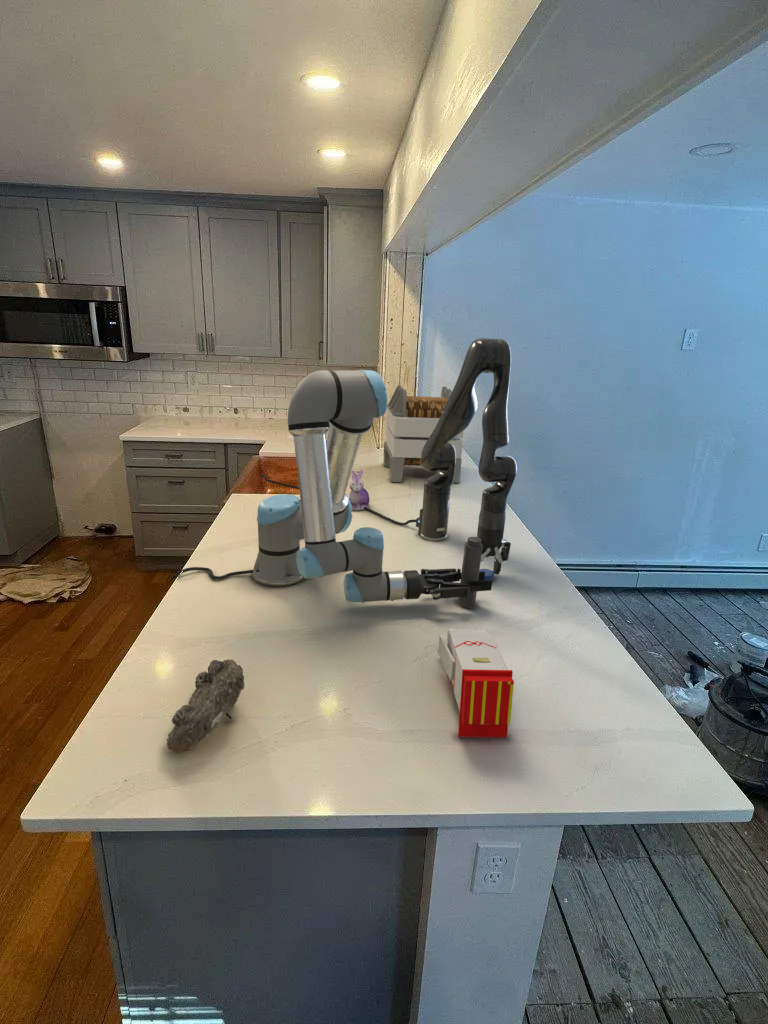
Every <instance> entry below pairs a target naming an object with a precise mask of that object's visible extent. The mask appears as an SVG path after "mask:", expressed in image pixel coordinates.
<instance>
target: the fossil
mask: <svg viewBox="0 0 768 1024" xmlns="http://www.w3.org/2000/svg"><path fill="white" fill-rule="evenodd" d="M243 670H244V669H243V667H242V665H240V664H237V662H236V661H235V660H234V659H232V658H231V659H227V658H226V659H224V660H223V661H222V660H217V659H212V660H211V661H210V663H209V665H208V666H207V671H201V672H199V673H198V674H197V675H196V676H195V680H194V684H195V685H194V687H195V689H194V690H193V693H192V694H191V697H190V698H189V700H188V704H184V705H182V706H181V707H180V709H177V710H176V711H175V713H174V715H173V716H172V718H171V723H172V724H173V727H172V730H171V731H170V732H168V734H167V738H166V741H167V742H166V745H167V749H168V750H169V751H173V752H174V753H176V754H178V753H182V752H188V751H189V752H192V751H193V750H195V748H196V747H197V746H199V744H200V743H201V742H203V741H204V740H205V739H206V738H207V737H208V736H209V735H210V734H211V733H212V732H214V730H215V729H217V727H218V726H219V724H220V722H221V721H222V720H223V719H224V718H225V716H226V717H227V719H229V720H233V717H232V715H230V714H229V710H230V709H231V708H234V706H235V704H236V703H237V702H238V699H239V697H240V695H241V693H242V691H243V690H245V689H244V688H245V675H244V671H243Z"/></svg>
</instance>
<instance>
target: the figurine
mask: <svg viewBox="0 0 768 1024" xmlns="http://www.w3.org/2000/svg"><path fill="white" fill-rule="evenodd" d="M363 475H364V470H363V469H361V470H359V472H358V473H356V472H355V470H352V472H351V480H350V482H349V489H350V492H349V494H348V498H349V500H350V502H351V505H352V511H363V510H365V509H364V507H367V508H369V505H370V495H369V491H367V489H365V484H364V482H363Z"/></svg>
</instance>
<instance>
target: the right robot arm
mask: <svg viewBox="0 0 768 1024" xmlns="http://www.w3.org/2000/svg"><path fill="white" fill-rule="evenodd" d="M511 366H512V350H511V346H510V344H509V342H508V341H507V340H505V339H502V338H485V337H481V338H475V339H474V340H473V341H472V342H471V343H470V345H469V347H468V349H467V351H466V354H465V356H464V359H463V362H462V366H461V369H460V371H459V374H458V377H457V379H456V382H455V385H454V386H453V388H452V390H451V391H452V393H451V395H450V397H449V399H448V401H447V403H446V405H445V407H444V410H443V412H442V415H441V417H440V419H439V421H438V423H437V425H436V427H435V429H434V431H433V432H432V434H431V436H430V437H429V439H428V440H427V442H426V444H425V445H424V447H423V449H422V452H421V457H420V462H421V466H420V467H422V469H423V470H424V471H427V472H435V474H433V475H432V476H430V477H428V478H427V479H425V480H424V482H423V493H422V496H423V497H422V506H421V508H420V509H419V516H418V517H416V518H415V519H409V520H407V521H405V522H400V521H396V520H394V519H392V518H390V517H388V516H385V515H384V514H381V513H379V512H377V511H375V510H373V509H371V508H370V507H368V508H367V507H364V510H365V511H367V512H370V513H372V514H374V515H376V516H378V517H380V518H381V519H384V520H386V521H388V522H390V523H393V524H395V525H398V526H407V525H408V524H410V523H415V527H416V528H418V530H417V535H418V536H420V538H421V539H424V540H426V541H432V542H440V541H444V540H446V539H447V538H448V525H449V517H450V516H449V514H450V504H451V494H452V493H451V491H452V486H453V484H454V483H453V478H454V471H455V464H456V451H455V448H454V446H453V445H452V444H451V443H448V442H449V441H451V440H452V439H453V438H455V437H456V436H457V435H459V434H460V433H461V432H463V431H465V430H466V429H467V428H468V427H469V426H470V424H471V422H472V421H473V419H474V417H475V415H476V413H477V411H478V397H477V394H476V391H475V385H476V382H477V381H478V378H479V376H480V375H481V374H492V375H493V386H492V387H493V388H492V392H491V394H490V396H489V398H488V401H487V403H486V405H485V407H484V409H483V412H482V416H481V417H482V418H481V430H482V447H481V452H480V457H479V462H478V474H479V477H480V479H481V480H482V481H483V482H486V483H494V485H492V486H490V487H487V488H485V489H483V491H482V494H481V504H480V511H479V513H478V514H479V515H478V523H477V532H476V537H478V538H480V539H481V544H482V545H483V547H482V555H481V563H482V562H484V560H485V559H486V558H489V557H493V558H494V561H493V568H492V569H493V570H492V571H493V572H494V573H495V574H494V575H496V576H499V575H500V573H501V571H502V565H503V563H504V562H507V561H508V560H509V557H510V552H511V551H510V550H511V545H512V543H511V542H510V541H508V540H507V539H504V532H505V525H506V511H507V503H508V502H507V501H508V496H509V494H510V492H511V489H512V487H513V484H514V482H515V480H516V477H517V474H518V466H517V461H516V460H515V458H513V457H512V456H510V455H499V456H496V453H497V450H498V449H501V448H504V447H506V446H508V445H509V440H510V439H509V421H508V403H509V402H508V401H509V400H508V399H509V391H510V380H511V368H512V367H511ZM463 433H464V432H463ZM260 477H262V478H263V479H264V480H265V481H266V482H268V483H272V484H276V485H280V486H283V487H288V488H292V489H296V490H299V486H298V485H297V486H296V485H292V484H290V483H289V484H288V483H284V482H281V481H276V480H272V479H270V478H267V476H266V475H265V473H261V475H260ZM500 549H501V550H500Z"/></svg>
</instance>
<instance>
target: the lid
mask: <svg viewBox="0 0 768 1024" xmlns="http://www.w3.org/2000/svg"><path fill="white" fill-rule="evenodd" d="M480 571H484V572H485V577H484V580H492V581H494V580H495V575H496V574H495V573H494V572H493V570H492V569H490V568H480Z"/></svg>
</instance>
